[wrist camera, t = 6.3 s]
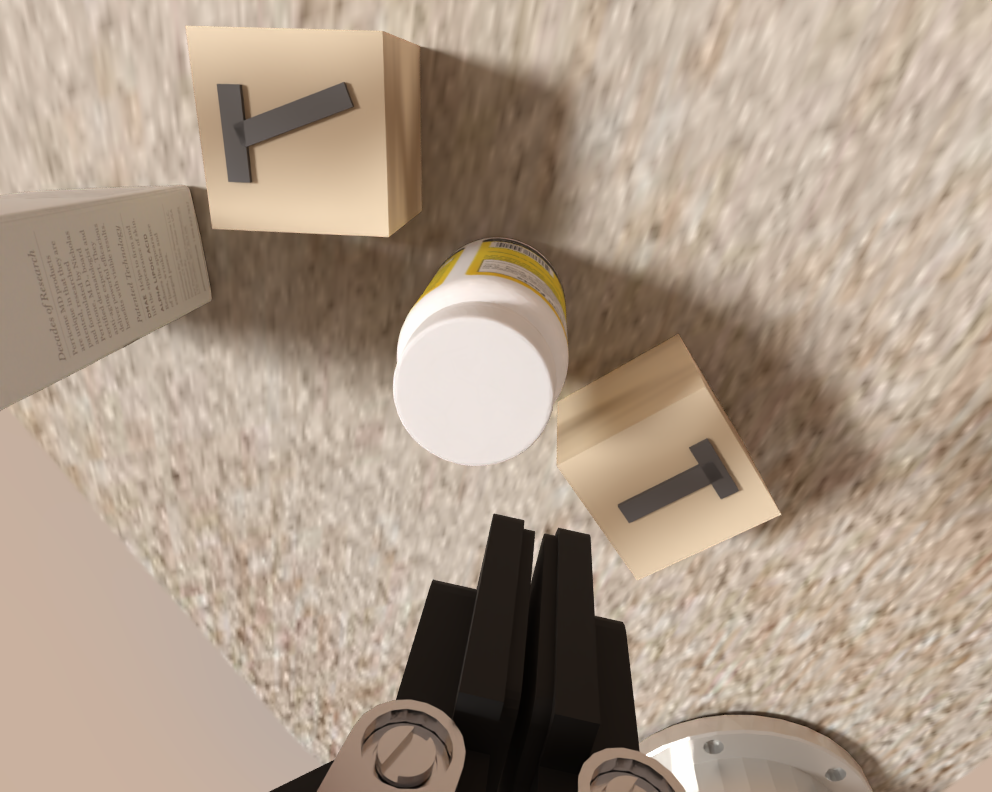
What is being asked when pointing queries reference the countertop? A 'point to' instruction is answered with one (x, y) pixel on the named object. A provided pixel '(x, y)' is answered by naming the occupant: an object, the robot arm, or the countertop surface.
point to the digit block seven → (308, 128)
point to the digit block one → (659, 460)
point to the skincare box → (91, 277)
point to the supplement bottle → (483, 354)
